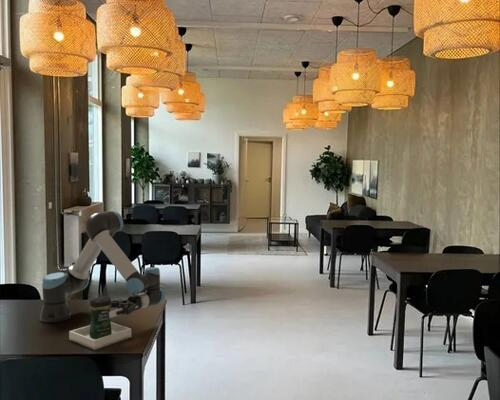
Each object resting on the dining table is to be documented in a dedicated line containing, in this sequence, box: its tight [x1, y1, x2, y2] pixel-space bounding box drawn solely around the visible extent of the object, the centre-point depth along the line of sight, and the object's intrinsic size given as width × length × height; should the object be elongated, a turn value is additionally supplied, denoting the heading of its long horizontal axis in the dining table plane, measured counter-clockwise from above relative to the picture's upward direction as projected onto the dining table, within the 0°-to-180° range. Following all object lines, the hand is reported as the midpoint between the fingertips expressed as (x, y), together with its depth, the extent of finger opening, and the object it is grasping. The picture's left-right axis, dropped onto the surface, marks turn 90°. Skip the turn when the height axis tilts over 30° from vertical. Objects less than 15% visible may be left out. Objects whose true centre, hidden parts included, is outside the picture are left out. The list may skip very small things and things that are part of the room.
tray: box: [68, 321, 133, 351], centre depth 219 cm, size 20×20×4 cm
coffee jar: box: [89, 295, 112, 339], centre depth 218 cm, size 10×8×19 cm
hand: (100, 311), depth 218 cm, fingers open, 13 cm apart
